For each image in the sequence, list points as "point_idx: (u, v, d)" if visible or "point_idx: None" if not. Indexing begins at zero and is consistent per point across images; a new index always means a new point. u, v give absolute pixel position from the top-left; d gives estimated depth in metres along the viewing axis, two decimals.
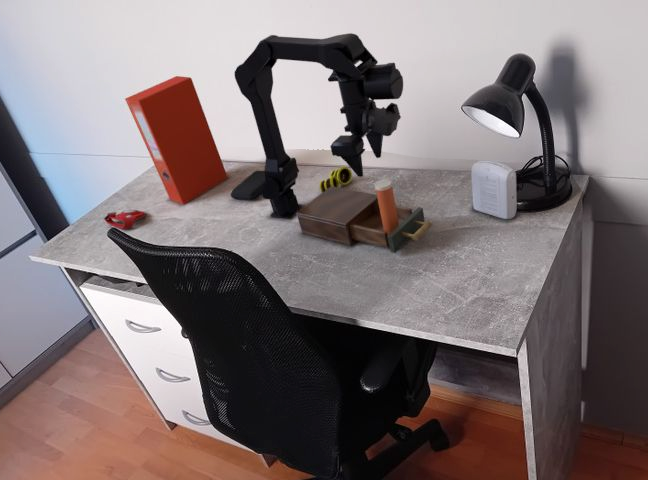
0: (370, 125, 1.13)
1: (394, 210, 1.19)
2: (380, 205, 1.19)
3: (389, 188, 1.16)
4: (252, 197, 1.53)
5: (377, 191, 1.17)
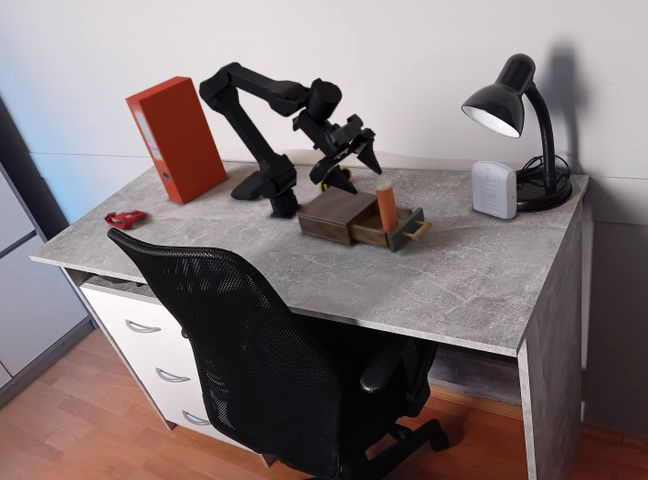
0: (334, 141, 1.15)
1: (394, 210, 1.19)
2: (380, 205, 1.19)
3: (389, 188, 1.16)
4: (252, 197, 1.53)
5: (377, 191, 1.17)
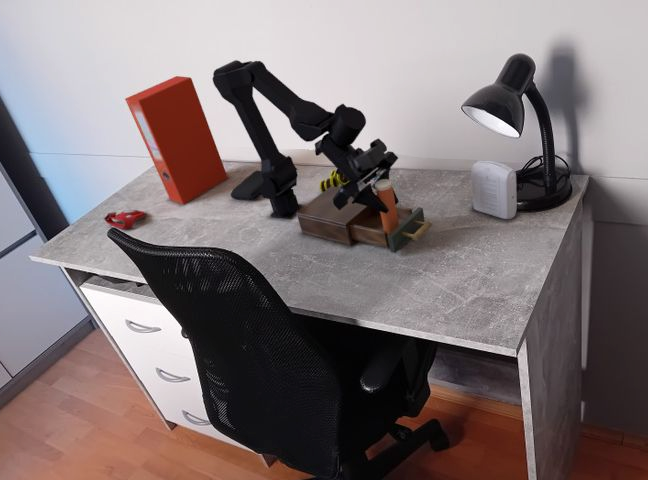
0: (357, 167, 1.15)
1: (394, 210, 1.19)
2: None
3: (389, 188, 1.16)
4: (252, 197, 1.53)
5: (377, 191, 1.17)
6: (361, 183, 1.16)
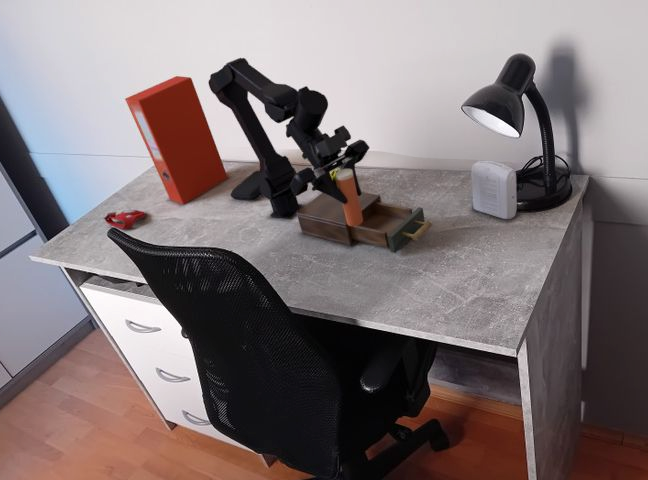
0: (317, 153, 1.11)
1: (355, 202, 1.15)
2: None
3: (348, 178, 1.11)
4: (252, 197, 1.53)
5: (337, 180, 1.13)
6: (320, 170, 1.12)
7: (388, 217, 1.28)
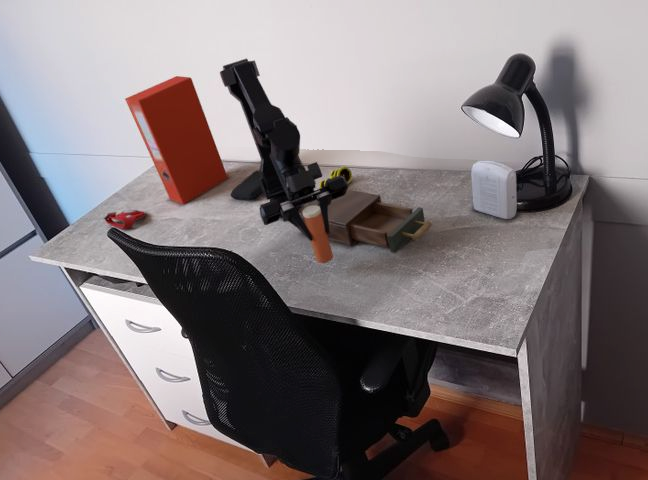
0: (286, 187, 1.09)
1: (321, 240, 1.12)
2: None
3: (312, 217, 1.08)
4: (252, 197, 1.53)
5: None
6: (288, 204, 1.10)
7: (388, 217, 1.28)
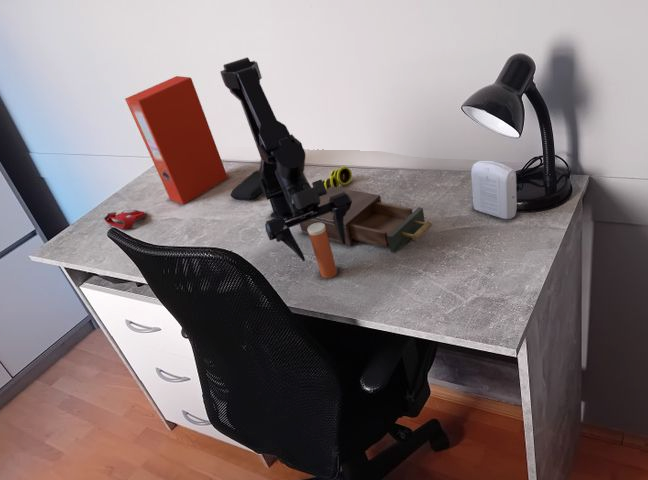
0: (292, 203, 1.11)
1: (326, 256, 1.14)
2: (313, 247, 1.14)
3: (317, 234, 1.11)
4: (252, 197, 1.53)
5: (309, 233, 1.12)
6: None
7: (388, 217, 1.28)
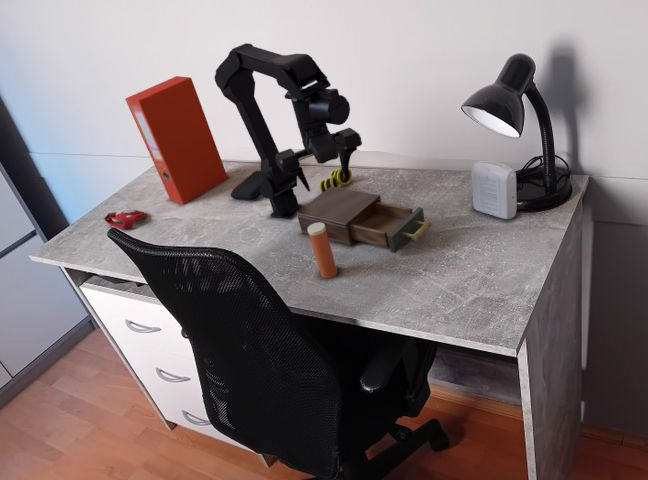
0: (309, 148, 1.14)
1: (326, 256, 1.14)
2: (313, 247, 1.14)
3: (317, 234, 1.11)
4: (252, 197, 1.53)
5: (309, 233, 1.12)
6: None
7: (388, 217, 1.28)
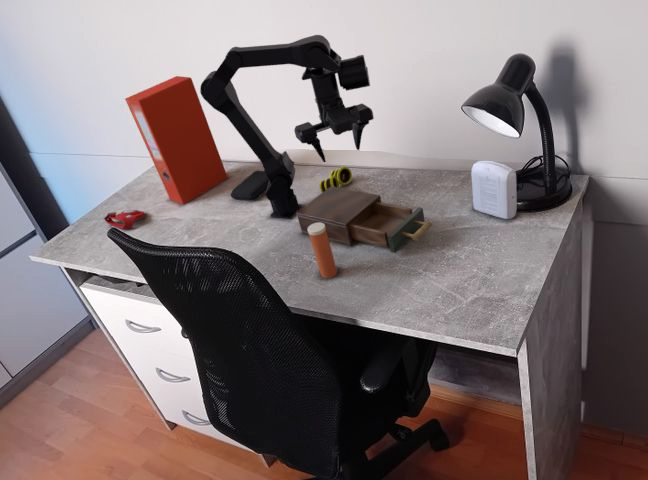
0: (326, 120, 1.25)
1: (326, 256, 1.14)
2: (313, 247, 1.14)
3: (317, 234, 1.11)
4: (252, 197, 1.53)
5: (309, 233, 1.12)
6: None
7: (388, 217, 1.28)
